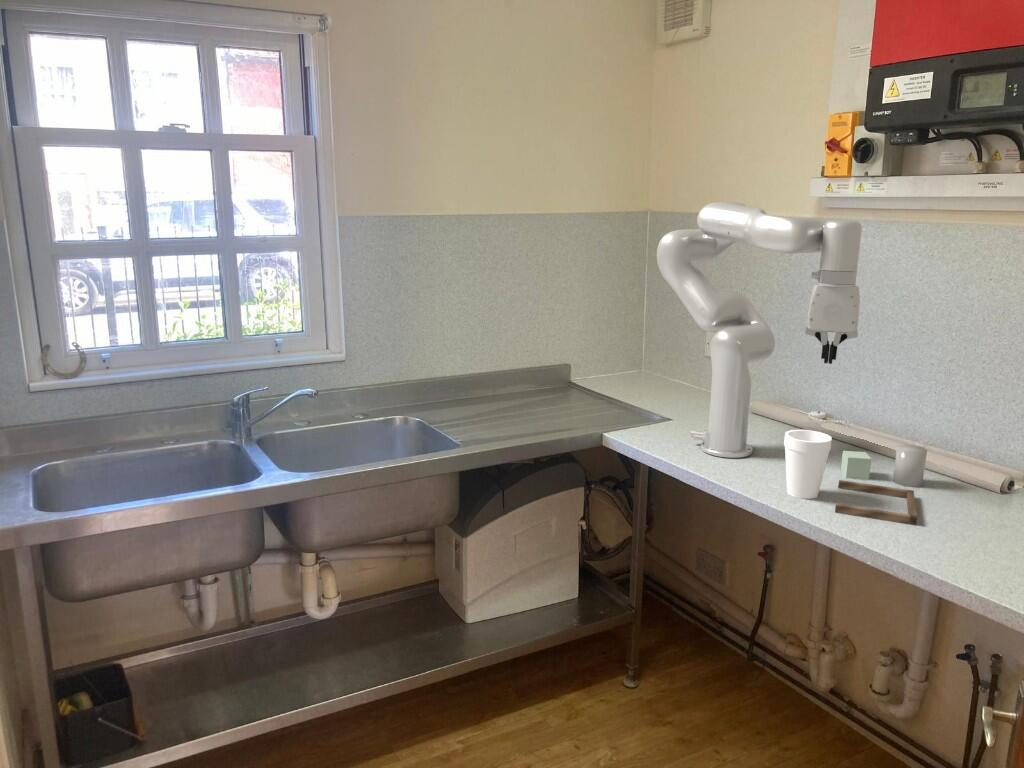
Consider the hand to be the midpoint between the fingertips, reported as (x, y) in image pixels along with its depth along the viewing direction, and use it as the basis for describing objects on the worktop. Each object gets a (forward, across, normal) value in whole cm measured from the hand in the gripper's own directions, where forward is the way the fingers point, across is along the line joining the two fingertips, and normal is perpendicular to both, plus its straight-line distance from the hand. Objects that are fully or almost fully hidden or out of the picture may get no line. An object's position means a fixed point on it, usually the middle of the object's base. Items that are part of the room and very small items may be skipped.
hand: (828, 362), depth 171 cm
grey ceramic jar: (+27, +19, +7) cm, 34 cm away
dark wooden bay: (+27, +12, -11) cm, 32 cm away
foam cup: (+27, -2, -11) cm, 30 cm away
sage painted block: (+27, +8, +7) cm, 29 cm away
